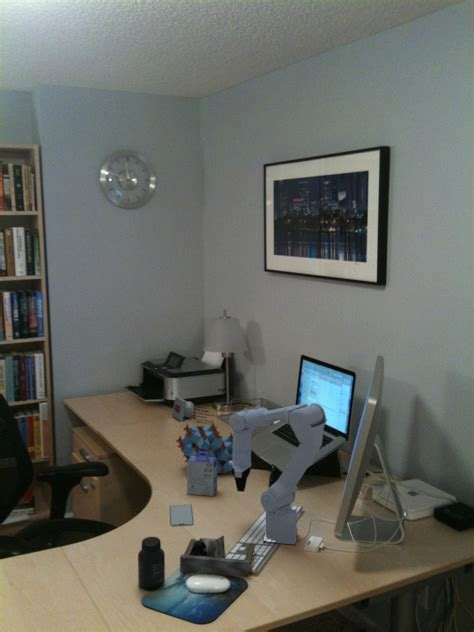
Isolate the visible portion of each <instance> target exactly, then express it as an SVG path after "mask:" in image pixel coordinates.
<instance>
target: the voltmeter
mask: <svg viewBox="0 0 474 632" xmlns="http://www.w3.org/2000/svg"><path fill="white" fill-rule="evenodd" d="M196 405H198V406H196ZM203 406H205V407H203ZM206 407H210V408H217V405H208V404H207V405H206V403H205V404H200V403H196V402H192V401H187V400H185V399H184V398H182V397H181V396H178V395H177V396H175V398H174V402H173V408H172V412H171V416H172V417H173V418H175V419H176V420H178V421H180V422H183V420H184V421H185V419H186V418H187V419H188V418H191V417H192V416H193V420H194V421H196V420H197V421H196V423H202V422H201V421H204V422H210V423H215V421H214V420H205V419H207V417H206V416H209V417H210V416H211V417H212V414H207V413H209V410H207V408H206ZM200 409H201V410H200ZM204 409H205V410H204ZM196 411H197V412H196ZM199 412H200V413H199ZM201 412H202V413H203V412H204V413H203V415H204V416H203V415H202V413H201ZM197 414H199V415H197ZM200 415H201V416H200ZM196 417H197V418H196ZM199 417H200V418H201V419H200V418H199ZM213 417H216V415H215V414H213ZM202 418H203V419H202Z"/></svg>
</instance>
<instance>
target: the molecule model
mask: <svg viewBox="0 0 474 632" xmlns="http://www.w3.org/2000/svg"><path fill="white" fill-rule="evenodd" d="M217 429H218V425H217V426H215V422H211V426H206V425H205V426H204V424H202V425H195V426H194V427H189V423H186V424H185V427H183V430H182V431H185V434H184V437H183V438H182V436H181V435H179V436H178V437H179V438H178V439H176V441H175V442H176V443H178V445H177V448H180V452H182V454H183V455H182V457H183V458H185V459H186V460H184V463H186V464H187V461H188V460H189V458H190V457H191V456H194V457H197V456H198V451H207V452H208V457H212V458H217V475H220V474H227V473H228V472H232V469H233V466H232V465H229V461H232V458H233V432H230V435H229V436H223V435H220V433H221V431H220V430H219V431H218V430H217ZM199 455H203V456H206V454H205V453H200V454H199Z"/></svg>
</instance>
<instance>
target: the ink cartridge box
mask: <svg viewBox="0 0 474 632" xmlns="http://www.w3.org/2000/svg"><path fill="white" fill-rule="evenodd" d="M200 453H205V454H206V456H203V455H199V454H200ZM186 470H187V471H186V476H187V477H186V484H187V485H186V487H187V488H186V494H187V495H197V496H199V495H200V496H210V497H214V496H215V494H216V493H217V492H218V473H217V458H212V457H208V452H207V451H198V456H197V457H194V456H191V457H190V458H189V460H188V461H187V462H186Z"/></svg>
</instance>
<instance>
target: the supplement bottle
mask: <svg viewBox="0 0 474 632" xmlns="http://www.w3.org/2000/svg"><path fill="white" fill-rule="evenodd" d="M161 543H162V542H161V539H160V538H159V537H157V536H148V537H144V538H143V539H142V541H141V549H140V550H139V552H138V553H137V570H138V571H137V572H138V573H137V574H138V575H137V576H138V577H137V578H138V583H137V584H138V586H139V588H140V589H141V590H143V591H146V592H154V591H159V590H160V589H162V588H164V586H165V584H166V582H165V581H166V572H165V571H166V570H165V569H166V568H165V567H166V561H165V560H166V558H165V557H166V556H165V555H166V554H165V551H164V550H163V549H162V548H161V547H162V546H161V545H162V544H161Z"/></svg>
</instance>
